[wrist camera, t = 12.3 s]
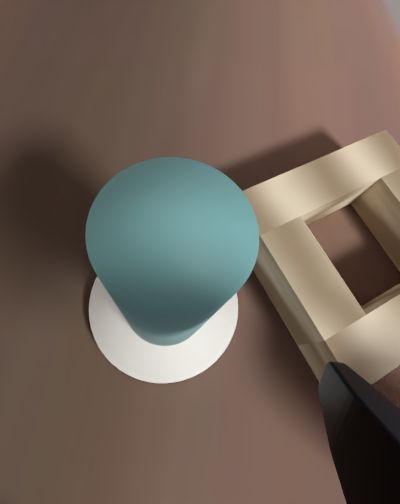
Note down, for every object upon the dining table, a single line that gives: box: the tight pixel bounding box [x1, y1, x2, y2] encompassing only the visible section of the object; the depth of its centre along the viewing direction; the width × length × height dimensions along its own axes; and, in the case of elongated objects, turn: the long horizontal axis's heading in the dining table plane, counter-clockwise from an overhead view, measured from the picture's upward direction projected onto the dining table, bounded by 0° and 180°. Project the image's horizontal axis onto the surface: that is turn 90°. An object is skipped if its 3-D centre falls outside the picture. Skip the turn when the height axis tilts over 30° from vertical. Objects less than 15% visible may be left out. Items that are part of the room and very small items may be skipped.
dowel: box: [85, 157, 259, 346], centre depth 16 cm, size 5×5×12 cm
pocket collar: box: [242, 130, 400, 385], centre depth 24 cm, size 14×14×4 cm
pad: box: [89, 276, 238, 383], centre depth 22 cm, size 10×10×1 cm
